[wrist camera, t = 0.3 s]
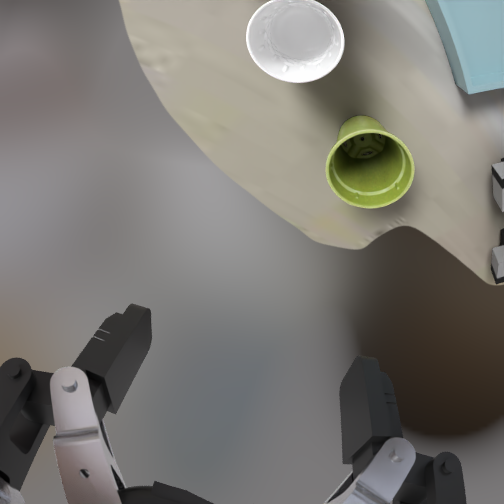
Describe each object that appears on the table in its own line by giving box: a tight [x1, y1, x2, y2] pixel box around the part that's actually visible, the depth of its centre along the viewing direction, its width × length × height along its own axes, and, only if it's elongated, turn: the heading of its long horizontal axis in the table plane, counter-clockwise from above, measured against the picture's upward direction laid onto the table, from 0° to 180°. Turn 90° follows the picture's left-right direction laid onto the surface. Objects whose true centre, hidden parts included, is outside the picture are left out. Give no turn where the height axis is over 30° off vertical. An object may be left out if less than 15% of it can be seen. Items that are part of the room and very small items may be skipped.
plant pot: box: [326, 116, 415, 208], centre depth 31 cm, size 9×9×9 cm
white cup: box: [246, 0, 345, 83], centre depth 23 cm, size 8×8×10 cm
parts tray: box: [425, 0, 504, 94], centre depth 16 cm, size 15×15×4 cm
